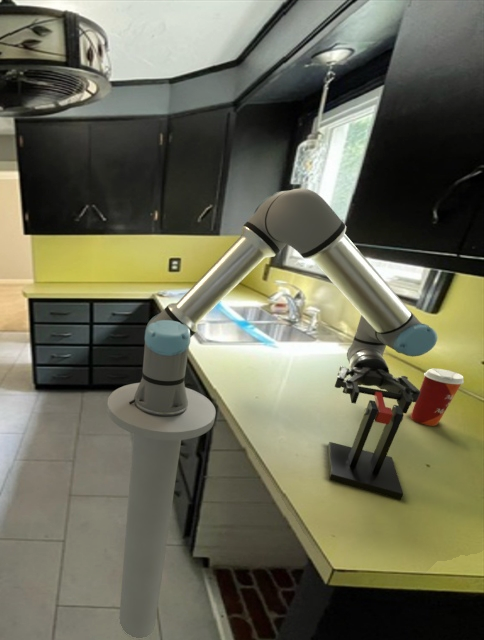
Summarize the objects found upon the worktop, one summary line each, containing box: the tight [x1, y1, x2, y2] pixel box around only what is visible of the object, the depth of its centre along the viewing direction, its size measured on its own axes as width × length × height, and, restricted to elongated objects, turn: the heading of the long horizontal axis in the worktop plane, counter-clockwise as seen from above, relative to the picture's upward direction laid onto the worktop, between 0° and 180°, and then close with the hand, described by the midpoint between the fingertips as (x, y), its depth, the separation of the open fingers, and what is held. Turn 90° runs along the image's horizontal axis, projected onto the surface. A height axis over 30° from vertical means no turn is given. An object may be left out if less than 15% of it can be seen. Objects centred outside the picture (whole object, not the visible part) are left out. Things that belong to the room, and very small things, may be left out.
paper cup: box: [410, 368, 465, 427], centre depth 96 cm, size 8×8×14 cm
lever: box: [358, 385, 402, 425], centre depth 77 cm, size 12×8×2 cm, turn 150°
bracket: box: [327, 399, 405, 501], centre depth 76 cm, size 14×12×16 cm
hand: (380, 402), depth 77 cm, fingers closed on lever, 8 cm apart
